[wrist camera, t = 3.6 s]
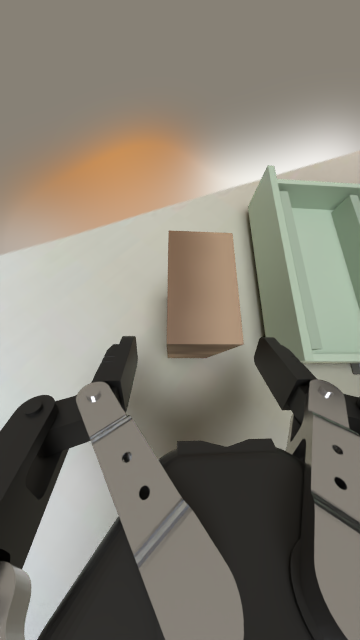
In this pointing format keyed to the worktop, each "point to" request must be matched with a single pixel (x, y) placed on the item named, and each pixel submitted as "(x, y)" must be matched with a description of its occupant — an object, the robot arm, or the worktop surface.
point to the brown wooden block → (202, 295)
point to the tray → (309, 266)
